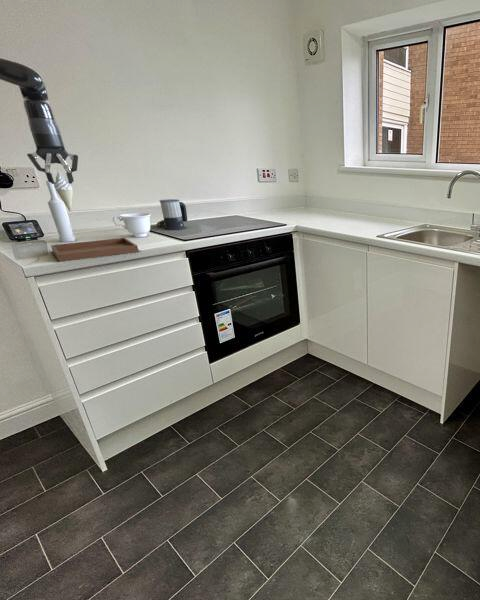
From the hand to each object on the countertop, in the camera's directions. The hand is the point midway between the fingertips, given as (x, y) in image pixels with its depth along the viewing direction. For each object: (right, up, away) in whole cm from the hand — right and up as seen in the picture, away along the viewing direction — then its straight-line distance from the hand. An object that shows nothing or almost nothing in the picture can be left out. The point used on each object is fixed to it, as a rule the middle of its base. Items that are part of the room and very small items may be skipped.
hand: (61, 183), depth 130 cm
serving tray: (+6, -24, +8) cm, 26 cm away
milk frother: (+1, -4, +60) cm, 60 cm away
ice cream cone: (0, -10, +4) cm, 10 cm away
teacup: (0, -13, +37) cm, 39 cm away
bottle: (-20, -18, +24) cm, 36 cm away
